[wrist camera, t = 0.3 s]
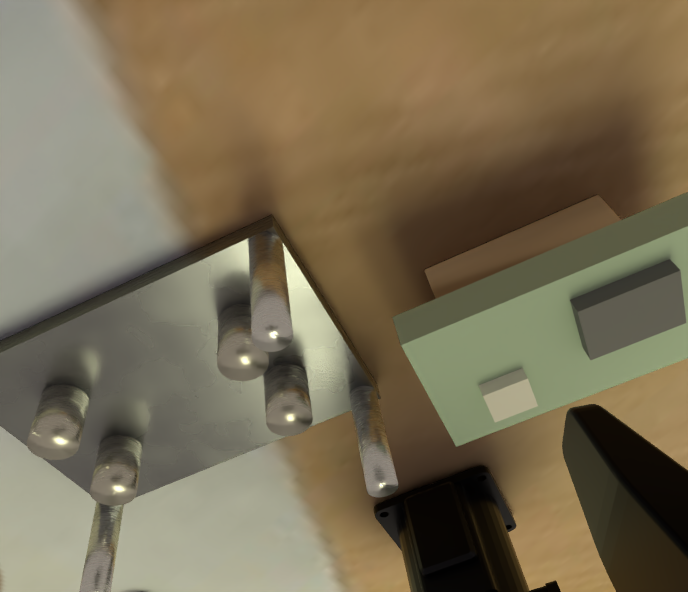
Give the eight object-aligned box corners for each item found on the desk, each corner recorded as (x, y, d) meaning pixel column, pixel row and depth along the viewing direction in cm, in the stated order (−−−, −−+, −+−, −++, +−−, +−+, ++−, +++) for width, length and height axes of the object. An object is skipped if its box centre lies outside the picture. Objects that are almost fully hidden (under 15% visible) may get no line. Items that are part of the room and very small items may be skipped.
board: (699, 319, 24) (732, 356, 22) (446, 418, 25) (460, 459, 24) (687, 192, 20) (726, 226, 18) (392, 317, 21) (404, 358, 20)
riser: (610, 253, 26) (655, 308, 23) (447, 320, 27) (471, 381, 24) (598, 194, 24) (645, 247, 21) (424, 270, 25) (447, 328, 22)
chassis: (377, 385, 28) (402, 490, 24) (110, 493, 31) (91, 607, 26) (272, 214, 22) (281, 315, 18) (-52, 365, 25) (-112, 486, 20)
